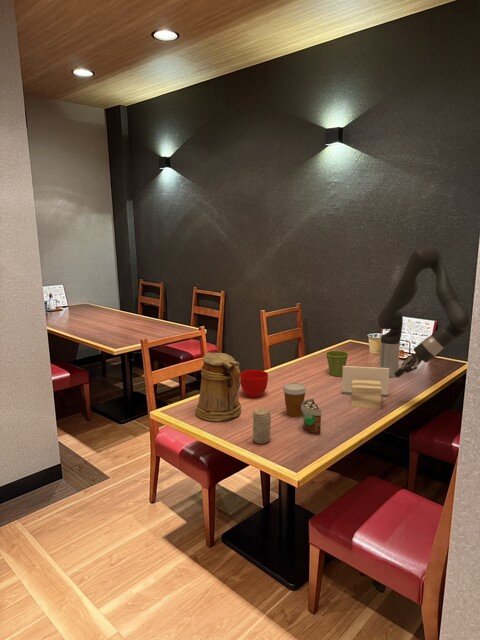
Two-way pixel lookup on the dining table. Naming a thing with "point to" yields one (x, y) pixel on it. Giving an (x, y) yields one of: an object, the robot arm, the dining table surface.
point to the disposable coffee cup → (294, 398)
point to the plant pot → (336, 362)
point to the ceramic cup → (254, 382)
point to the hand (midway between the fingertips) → (395, 375)
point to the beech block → (366, 394)
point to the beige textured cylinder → (261, 425)
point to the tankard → (219, 388)
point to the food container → (311, 416)
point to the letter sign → (365, 377)
